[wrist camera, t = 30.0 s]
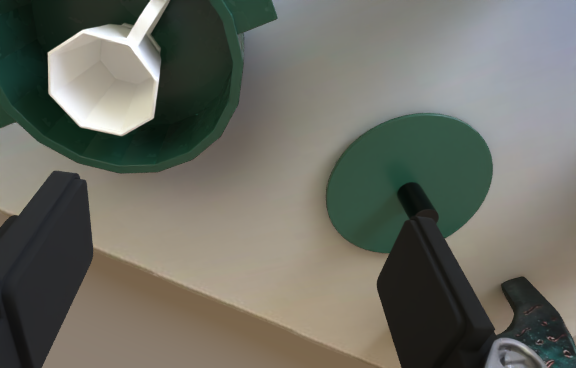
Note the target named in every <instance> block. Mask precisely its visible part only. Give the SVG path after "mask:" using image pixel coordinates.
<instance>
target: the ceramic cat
mask: <svg viewBox="0 0 576 368" xmlns="http://www.w3.org/2000/svg"><path fill="white" fill-rule="evenodd" d="M501 286H502V291H503V293H504V295H505V297H506V299H507V300H508V302H509V304H510V306H511V308H512V309H513V312H514V317H513V320H512V323H511V324H510V326H509V327H508V328H507V329H506V330H505V331H504V332H502V333H501V334H499V335H496V336H497V338H498V339H499V338H510V339H514V340H517V341H519V342H521V343H523V344H525V345H526V346H528V347H529V348H530V349H532V350H533V351H534V352H535V353H536V354H537V355H538V356H539V357H540V358H541V359H542V360H543V362H544V363H545V364H546V366H547V368H576V346H575V343H574V340H573V338H572V336H571V334H570V333H569V331H568V329H567V327H566V326H565V324H564V322H563V319H562V317H561V316H560V314H559V313H558V311H557V310H556V309H555V308H554V307H553V306H552V305H551V304H550V303H549V302H548V301H547V300H546V299H545V297H544V296H543V295H542V294H540V292H539V291H538V290H537V289H536V288H535V287H534V286H533V285H532V284H531V283H530V282H529V281H528V280H527V279H526V278H525V277H519V278H515V279H512V280H509V281H506V282H504V283H503V284H501Z"/></svg>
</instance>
